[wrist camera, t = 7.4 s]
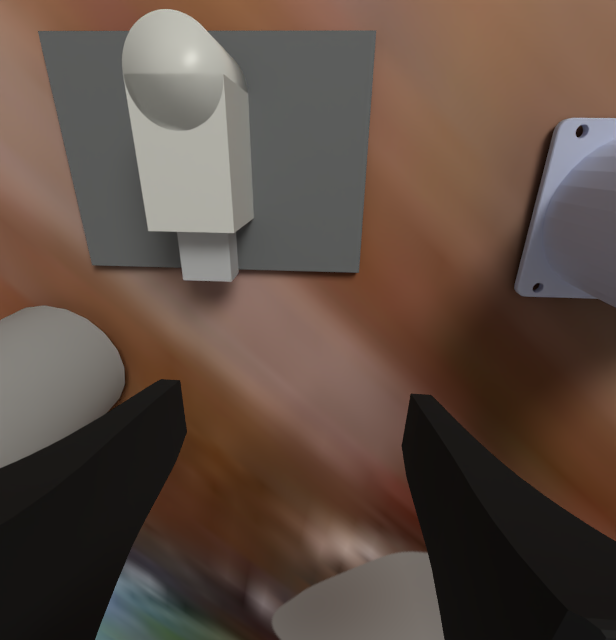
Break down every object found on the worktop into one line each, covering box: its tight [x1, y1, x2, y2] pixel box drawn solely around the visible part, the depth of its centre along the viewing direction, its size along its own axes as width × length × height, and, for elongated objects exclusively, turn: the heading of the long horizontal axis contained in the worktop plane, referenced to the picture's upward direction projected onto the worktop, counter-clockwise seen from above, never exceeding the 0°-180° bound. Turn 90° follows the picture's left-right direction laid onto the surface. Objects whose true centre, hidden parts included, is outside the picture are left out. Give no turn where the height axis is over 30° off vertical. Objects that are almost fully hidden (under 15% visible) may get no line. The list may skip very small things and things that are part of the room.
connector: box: [122, 9, 254, 282], centre depth 15 cm, size 9×3×4 cm, turn 179°
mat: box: [38, 31, 376, 273], centre depth 17 cm, size 14×10×1 cm
